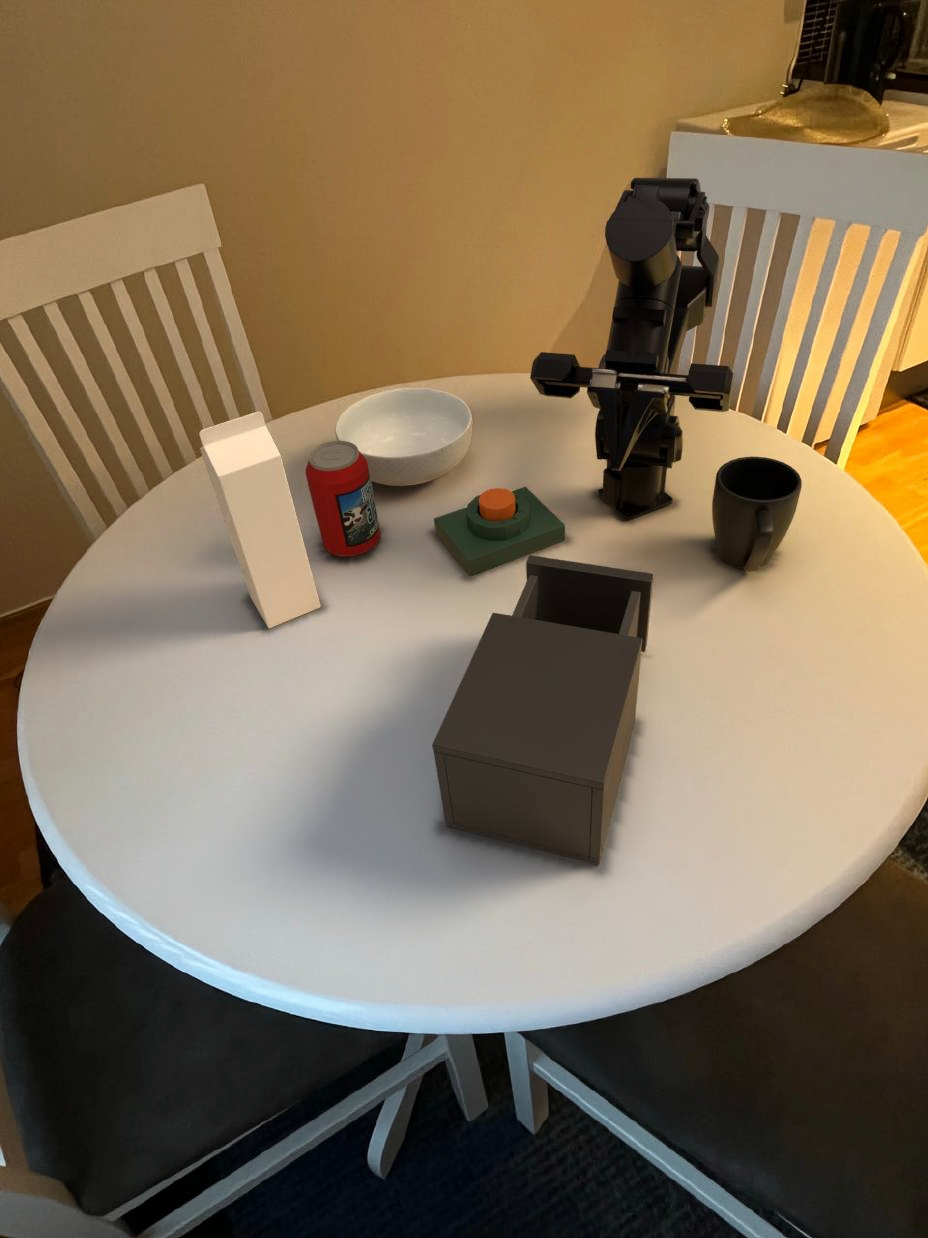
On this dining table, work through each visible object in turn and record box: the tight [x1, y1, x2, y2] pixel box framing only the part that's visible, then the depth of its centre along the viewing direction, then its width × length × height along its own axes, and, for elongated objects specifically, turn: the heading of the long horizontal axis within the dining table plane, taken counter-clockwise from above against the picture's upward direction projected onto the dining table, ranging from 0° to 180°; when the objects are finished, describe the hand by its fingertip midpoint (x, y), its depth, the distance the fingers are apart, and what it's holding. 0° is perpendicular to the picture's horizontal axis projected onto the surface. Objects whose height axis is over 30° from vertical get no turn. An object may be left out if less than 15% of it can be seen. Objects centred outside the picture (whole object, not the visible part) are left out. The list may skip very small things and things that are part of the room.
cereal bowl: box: [334, 387, 473, 487], centre depth 105 cm, size 17×17×7 cm
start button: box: [479, 487, 516, 521], centre depth 92 cm, size 4×4×2 cm
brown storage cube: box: [432, 612, 642, 866], centre depth 67 cm, size 15×13×11 cm
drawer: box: [511, 554, 655, 653], centre depth 75 cm, size 18×11×9 cm, turn 161°
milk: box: [198, 411, 322, 629], centre depth 82 cm, size 6×6×22 cm
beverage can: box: [304, 440, 381, 557], centre depth 92 cm, size 7×7×12 cm
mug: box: [711, 456, 803, 573], centre depth 85 cm, size 8×12×10 cm
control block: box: [433, 486, 566, 577], centre depth 94 cm, size 12×9×4 cm
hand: (615, 469), depth 80 cm, fingers closed
